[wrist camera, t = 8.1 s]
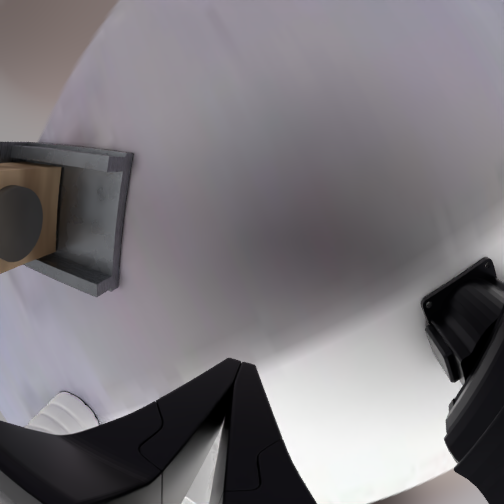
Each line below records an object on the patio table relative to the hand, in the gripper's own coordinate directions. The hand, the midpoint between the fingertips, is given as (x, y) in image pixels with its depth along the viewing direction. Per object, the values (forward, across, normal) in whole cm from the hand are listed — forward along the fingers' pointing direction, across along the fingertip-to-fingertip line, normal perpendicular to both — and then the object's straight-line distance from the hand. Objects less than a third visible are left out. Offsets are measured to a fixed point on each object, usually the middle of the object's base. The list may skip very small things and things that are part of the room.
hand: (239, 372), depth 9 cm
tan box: (+11, +19, 0) cm, 22 cm away
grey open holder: (+12, +18, 0) cm, 22 cm away
